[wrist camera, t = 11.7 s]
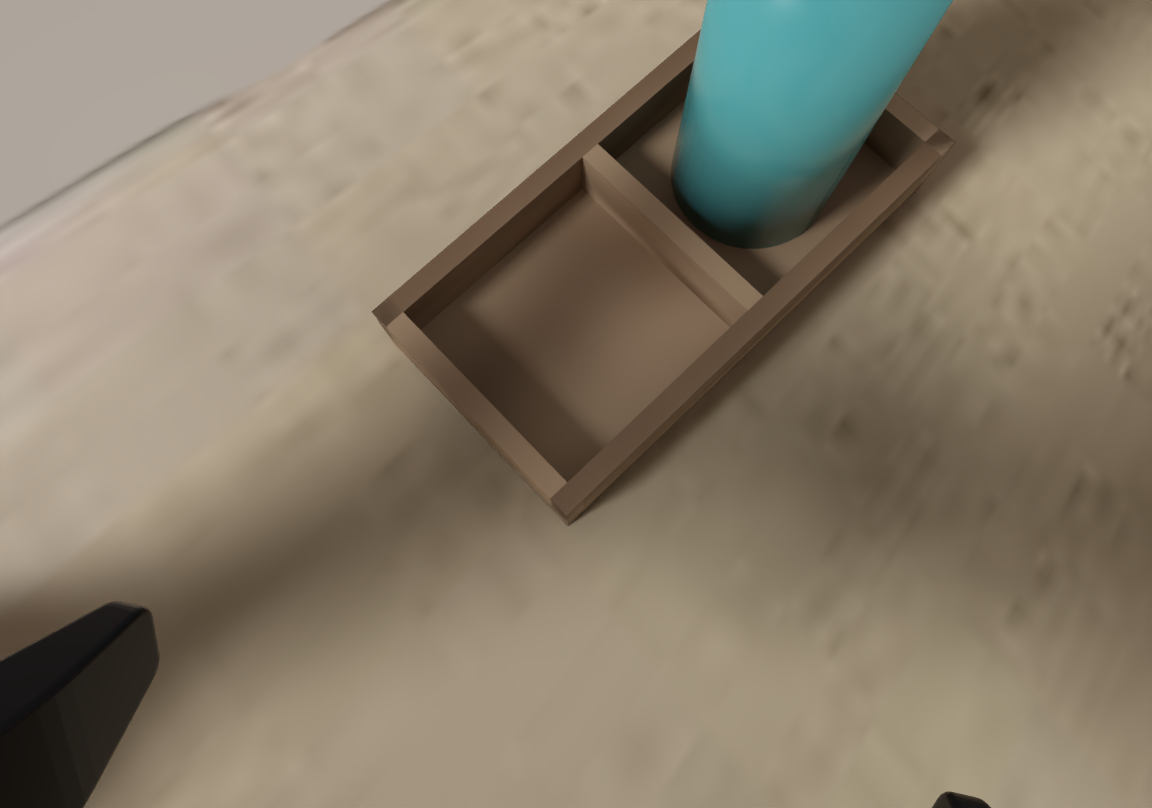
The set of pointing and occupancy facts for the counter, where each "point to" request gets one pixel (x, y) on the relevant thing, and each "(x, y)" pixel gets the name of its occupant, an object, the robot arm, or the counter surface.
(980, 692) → the counter surface
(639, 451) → the caddy
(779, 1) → the bottle
